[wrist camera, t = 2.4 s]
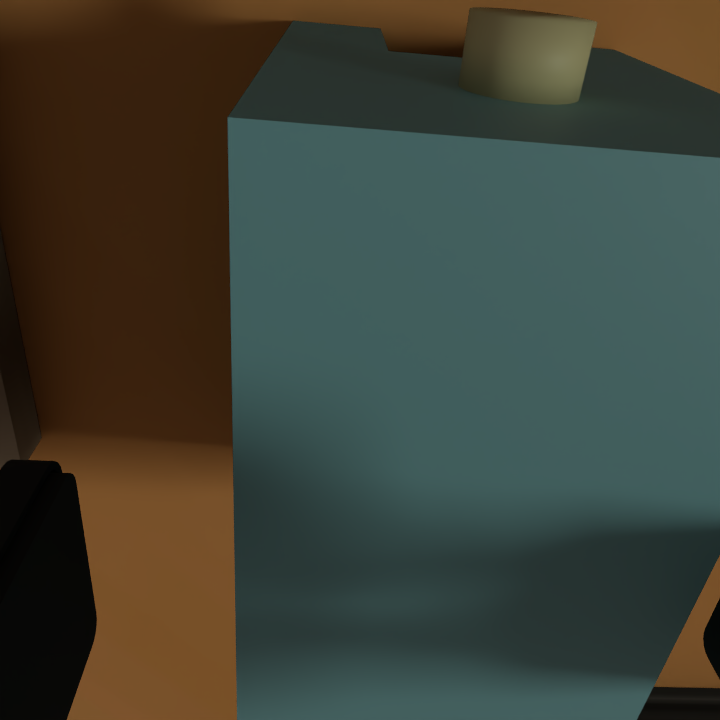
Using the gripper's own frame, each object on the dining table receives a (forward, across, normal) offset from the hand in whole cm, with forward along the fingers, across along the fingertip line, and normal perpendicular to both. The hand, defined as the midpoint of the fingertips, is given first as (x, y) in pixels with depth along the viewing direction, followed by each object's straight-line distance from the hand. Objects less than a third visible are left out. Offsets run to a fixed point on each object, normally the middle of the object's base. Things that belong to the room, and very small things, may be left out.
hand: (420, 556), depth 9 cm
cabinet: (+7, -1, -1) cm, 7 cm away
